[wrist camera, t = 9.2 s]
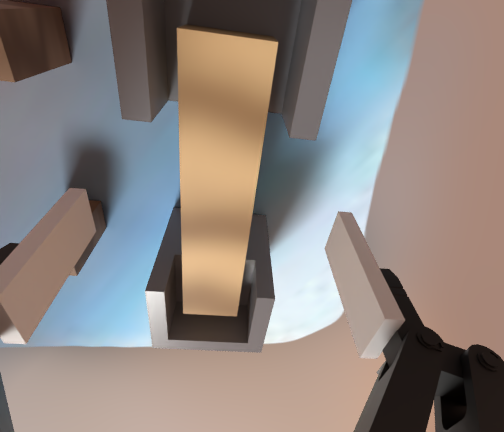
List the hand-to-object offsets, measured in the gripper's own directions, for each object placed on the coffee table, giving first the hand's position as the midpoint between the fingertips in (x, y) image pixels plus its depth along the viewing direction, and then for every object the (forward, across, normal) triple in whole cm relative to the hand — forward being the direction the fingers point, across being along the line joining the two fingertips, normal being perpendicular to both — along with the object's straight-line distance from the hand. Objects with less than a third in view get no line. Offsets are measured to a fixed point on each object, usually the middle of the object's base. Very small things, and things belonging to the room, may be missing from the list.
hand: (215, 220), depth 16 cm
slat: (+3, 0, 0) cm, 3 cm away
